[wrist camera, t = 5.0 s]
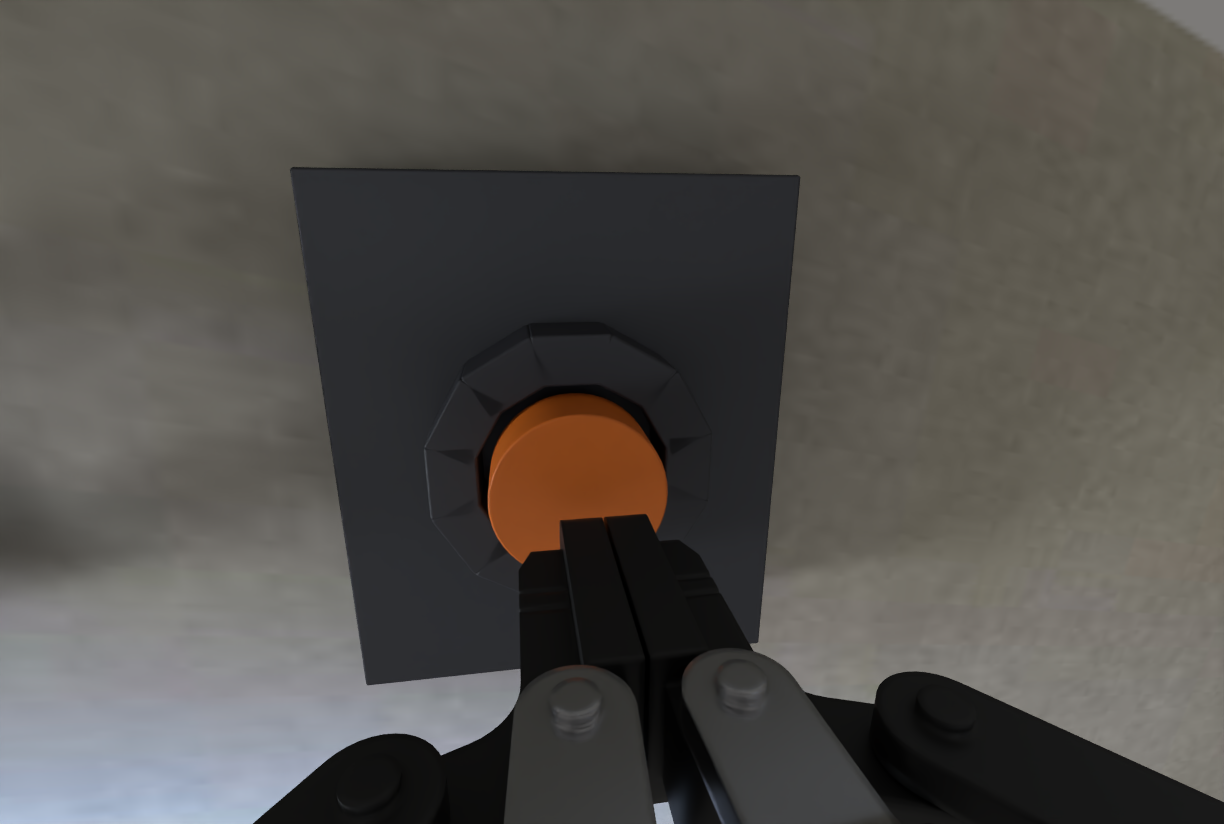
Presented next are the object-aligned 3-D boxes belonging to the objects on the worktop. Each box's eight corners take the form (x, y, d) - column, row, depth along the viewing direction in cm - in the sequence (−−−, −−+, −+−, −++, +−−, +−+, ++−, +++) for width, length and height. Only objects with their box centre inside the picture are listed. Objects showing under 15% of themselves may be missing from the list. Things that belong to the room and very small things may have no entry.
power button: (485, 395, 14) (481, 418, 12) (653, 388, 14) (671, 410, 13) (494, 548, 15) (492, 587, 13) (649, 535, 16) (665, 572, 14)
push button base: (330, 177, 16) (254, 157, 11) (752, 183, 18) (838, 168, 13) (387, 617, 20) (349, 736, 16) (725, 586, 22) (782, 684, 17)
